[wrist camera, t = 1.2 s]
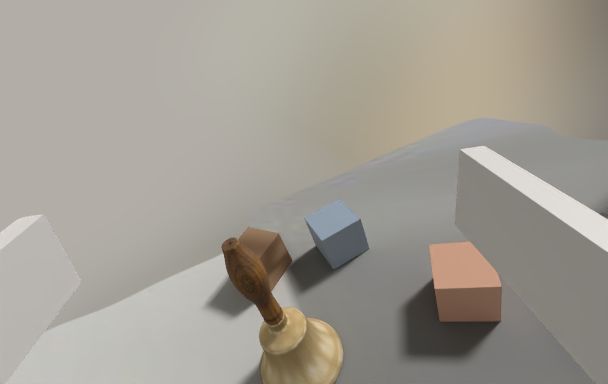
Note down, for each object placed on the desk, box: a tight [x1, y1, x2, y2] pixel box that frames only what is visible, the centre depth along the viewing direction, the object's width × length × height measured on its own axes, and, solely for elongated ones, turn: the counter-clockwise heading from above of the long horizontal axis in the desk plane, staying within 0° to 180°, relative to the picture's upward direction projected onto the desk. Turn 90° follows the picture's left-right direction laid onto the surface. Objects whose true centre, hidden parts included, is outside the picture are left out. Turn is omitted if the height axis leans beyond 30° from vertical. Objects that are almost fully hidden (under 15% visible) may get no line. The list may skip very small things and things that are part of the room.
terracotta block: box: [429, 242, 502, 322], centre depth 31 cm, size 5×5×5 cm
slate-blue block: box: [304, 199, 369, 269], centre depth 42 cm, size 5×5×5 cm
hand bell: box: [222, 238, 343, 384], centre depth 29 cm, size 8×8×16 cm
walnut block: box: [224, 227, 292, 291], centre depth 42 cm, size 5×5×5 cm
